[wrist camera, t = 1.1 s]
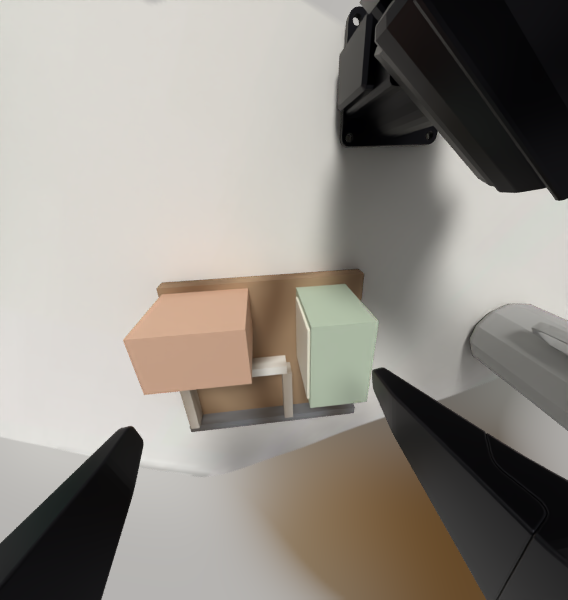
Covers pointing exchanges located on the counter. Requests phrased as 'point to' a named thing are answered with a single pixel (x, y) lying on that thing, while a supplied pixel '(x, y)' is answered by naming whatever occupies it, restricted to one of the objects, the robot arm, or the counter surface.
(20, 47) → the counter surface
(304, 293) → the tea box
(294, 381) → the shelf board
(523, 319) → the water bottle
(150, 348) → the rust box
